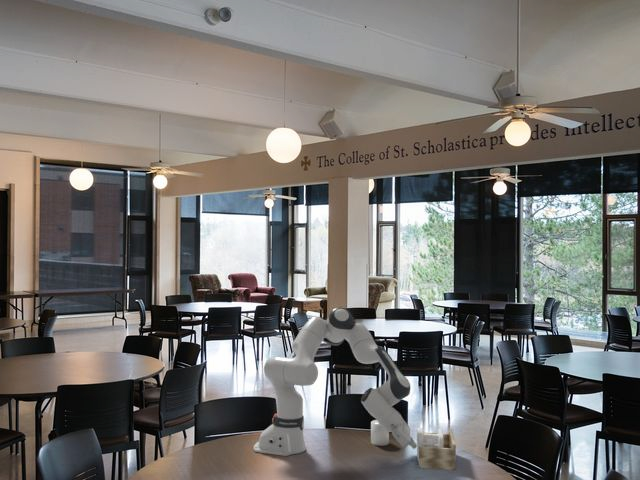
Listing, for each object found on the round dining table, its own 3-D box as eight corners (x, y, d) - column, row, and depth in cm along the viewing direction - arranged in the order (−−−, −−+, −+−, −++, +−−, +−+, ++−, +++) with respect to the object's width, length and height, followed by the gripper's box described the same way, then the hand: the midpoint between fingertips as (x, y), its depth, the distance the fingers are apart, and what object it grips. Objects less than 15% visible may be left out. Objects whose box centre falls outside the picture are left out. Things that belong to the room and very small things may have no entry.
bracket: (419, 467, 242) (419, 442, 242) (418, 450, 262) (418, 427, 262) (455, 470, 240) (455, 444, 240) (452, 452, 260) (452, 429, 260)
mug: (370, 445, 269) (371, 425, 269) (370, 437, 279) (371, 417, 279) (389, 446, 268) (389, 425, 268) (388, 437, 279) (388, 418, 279)
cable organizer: (443, 467, 243) (443, 438, 243) (416, 465, 244) (417, 436, 245) (441, 454, 258) (441, 427, 258) (416, 453, 259) (416, 425, 259)
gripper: (397, 423, 243) (421, 449, 242) (398, 410, 264) (420, 434, 262) (385, 434, 244) (410, 460, 242) (387, 420, 264) (410, 444, 263)
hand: (415, 446), depth 252 cm, fingers closed
